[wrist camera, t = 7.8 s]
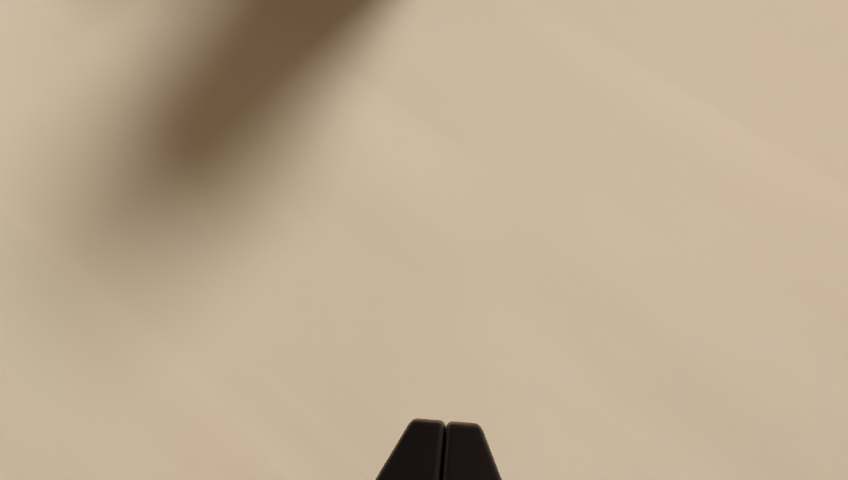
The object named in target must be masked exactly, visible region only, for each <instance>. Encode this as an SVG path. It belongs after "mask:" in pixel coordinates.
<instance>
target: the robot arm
mask: <svg viewBox="0 0 848 480" xmlns="http://www.w3.org/2000/svg"><path fill="white" fill-rule="evenodd" d="M445 431H446V432H445ZM376 480H502V479H501V477H500V474H499V472H498V469H497V466H496V464H495V461H494V458H493V456H492V453H491V451H490V448H489V445H488V443H487V440H486V438H485V435H484V432H483V430H482V428H481V427H480V426H479V425H478V424H476V423H465V422H449V423H448V424H447V426H445V424H444V422H442V421H440V420H429V419H414V420H412V421H411V422H410V423H409V425H408V426H407V428H406V430H405V431H404V433H403V435H402V436H401V438H400V440H399V441H398V443H397V445H396V446H395V448H394V450H393V451H392V453H391V455H390V456H389V458H388V460H387V461H386V463H385V465H384V466H383V468H382V470H381V471H380V473H379V475H378V476H377V478H376Z"/></svg>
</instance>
